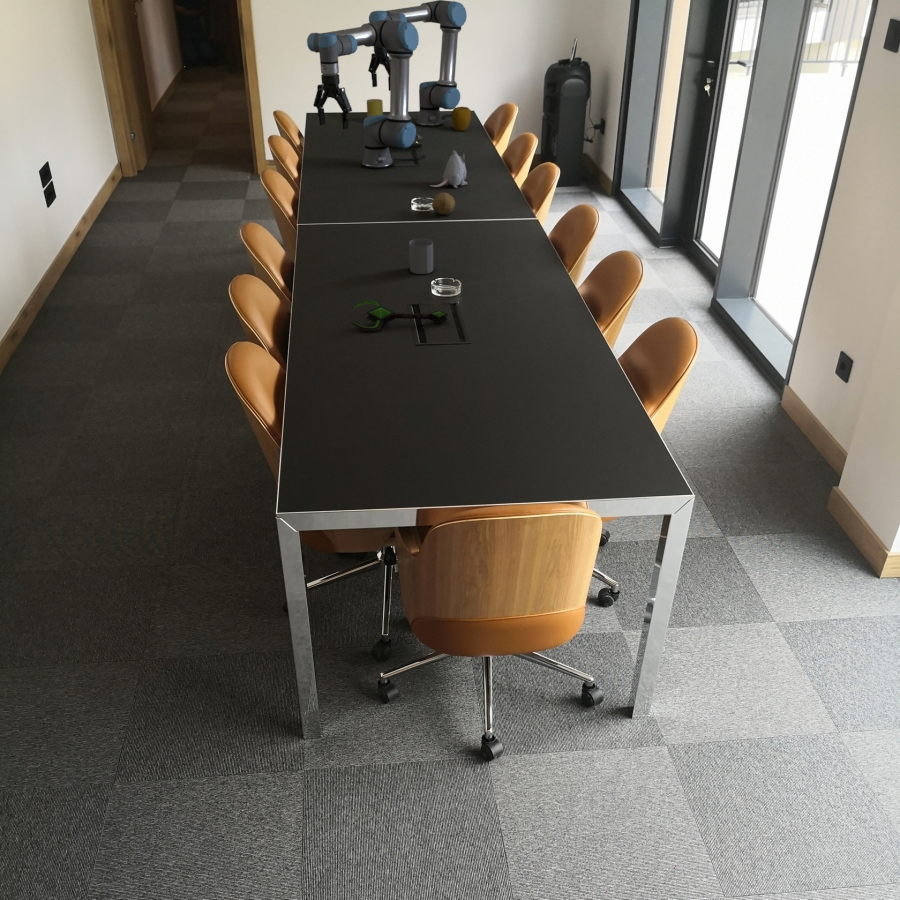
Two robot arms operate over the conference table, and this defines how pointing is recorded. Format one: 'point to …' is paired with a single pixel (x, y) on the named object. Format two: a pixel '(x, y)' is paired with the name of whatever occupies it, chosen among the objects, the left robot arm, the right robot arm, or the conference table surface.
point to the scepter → (393, 315)
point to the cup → (421, 256)
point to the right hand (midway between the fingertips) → (382, 88)
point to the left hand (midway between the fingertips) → (333, 126)
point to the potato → (443, 203)
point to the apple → (461, 118)
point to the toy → (454, 171)
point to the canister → (374, 107)
